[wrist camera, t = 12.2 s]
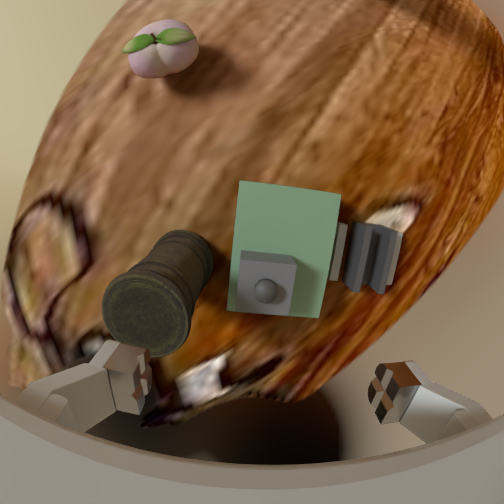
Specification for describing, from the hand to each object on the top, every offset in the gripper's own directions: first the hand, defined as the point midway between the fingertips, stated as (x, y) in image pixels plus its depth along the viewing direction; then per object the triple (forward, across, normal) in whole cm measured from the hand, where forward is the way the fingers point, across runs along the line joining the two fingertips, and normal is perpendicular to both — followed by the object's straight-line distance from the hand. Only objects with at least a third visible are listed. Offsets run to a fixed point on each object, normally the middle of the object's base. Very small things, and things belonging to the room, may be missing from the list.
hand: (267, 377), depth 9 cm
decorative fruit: (+31, +14, -23) cm, 41 cm away
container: (+31, +9, +6) cm, 33 cm away
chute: (+31, -17, +2) cm, 36 cm away
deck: (+31, -10, +2) cm, 33 cm away
